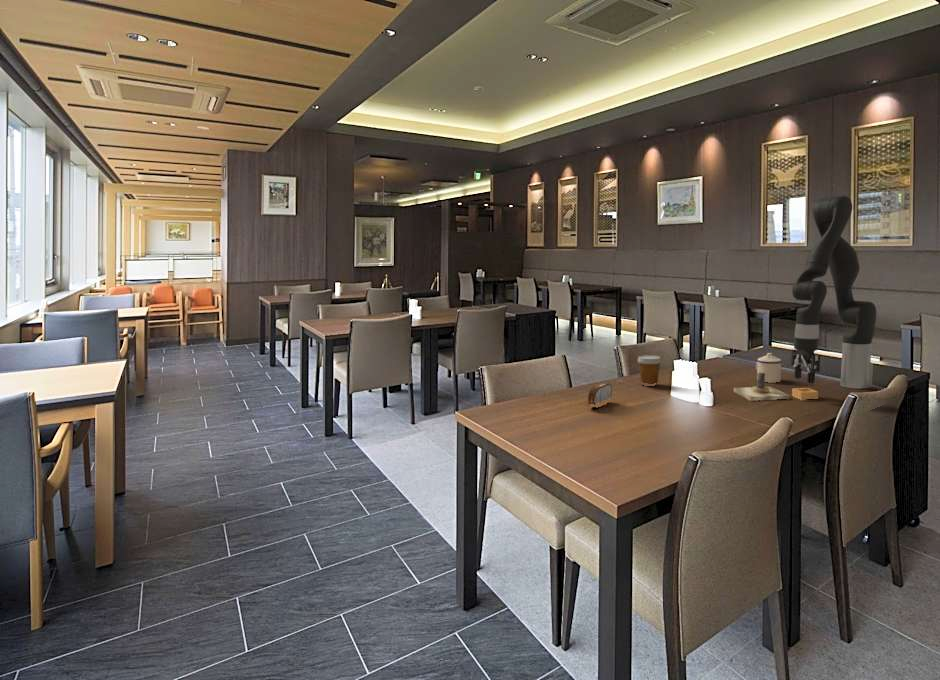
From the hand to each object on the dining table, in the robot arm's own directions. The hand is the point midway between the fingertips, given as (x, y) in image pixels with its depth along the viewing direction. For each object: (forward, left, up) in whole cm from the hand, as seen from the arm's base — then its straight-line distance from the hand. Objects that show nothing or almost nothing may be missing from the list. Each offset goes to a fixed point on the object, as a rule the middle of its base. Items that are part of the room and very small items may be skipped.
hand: (804, 380), depth 205 cm
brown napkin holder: (+74, 0, -7) cm, 74 cm away
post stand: (+13, -6, -7) cm, 15 cm away
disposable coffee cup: (+48, -29, -7) cm, 56 cm away
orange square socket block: (0, 0, -7) cm, 7 cm away
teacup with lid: (-1, -30, -7) cm, 31 cm away
